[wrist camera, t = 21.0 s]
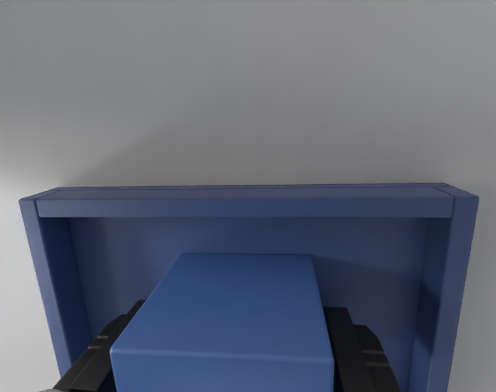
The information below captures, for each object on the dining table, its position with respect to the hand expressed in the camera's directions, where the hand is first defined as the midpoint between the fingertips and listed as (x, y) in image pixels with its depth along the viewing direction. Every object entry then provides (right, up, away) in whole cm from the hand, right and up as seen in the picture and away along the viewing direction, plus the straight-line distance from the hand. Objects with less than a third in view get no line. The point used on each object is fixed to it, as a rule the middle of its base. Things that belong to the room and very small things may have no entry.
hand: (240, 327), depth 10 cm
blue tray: (0, 0, +1) cm, 1 cm away
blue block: (0, 0, +1) cm, 1 cm away
